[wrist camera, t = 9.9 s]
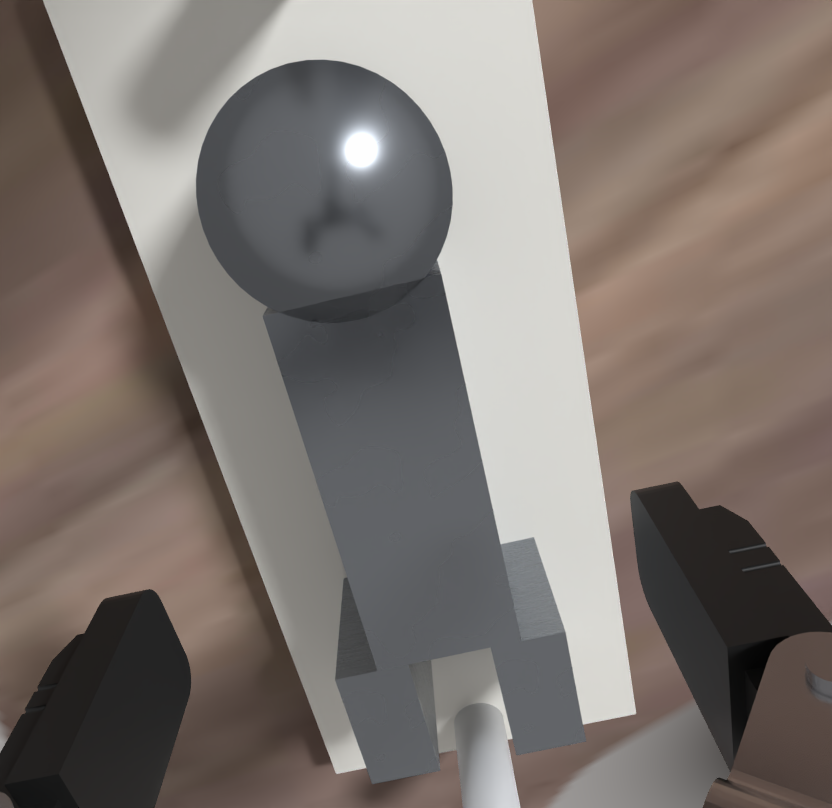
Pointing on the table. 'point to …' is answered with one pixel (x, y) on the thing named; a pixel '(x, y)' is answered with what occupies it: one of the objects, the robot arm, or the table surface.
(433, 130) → the ball-topped forked rod
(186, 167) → the peg rest
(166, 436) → the table surface
